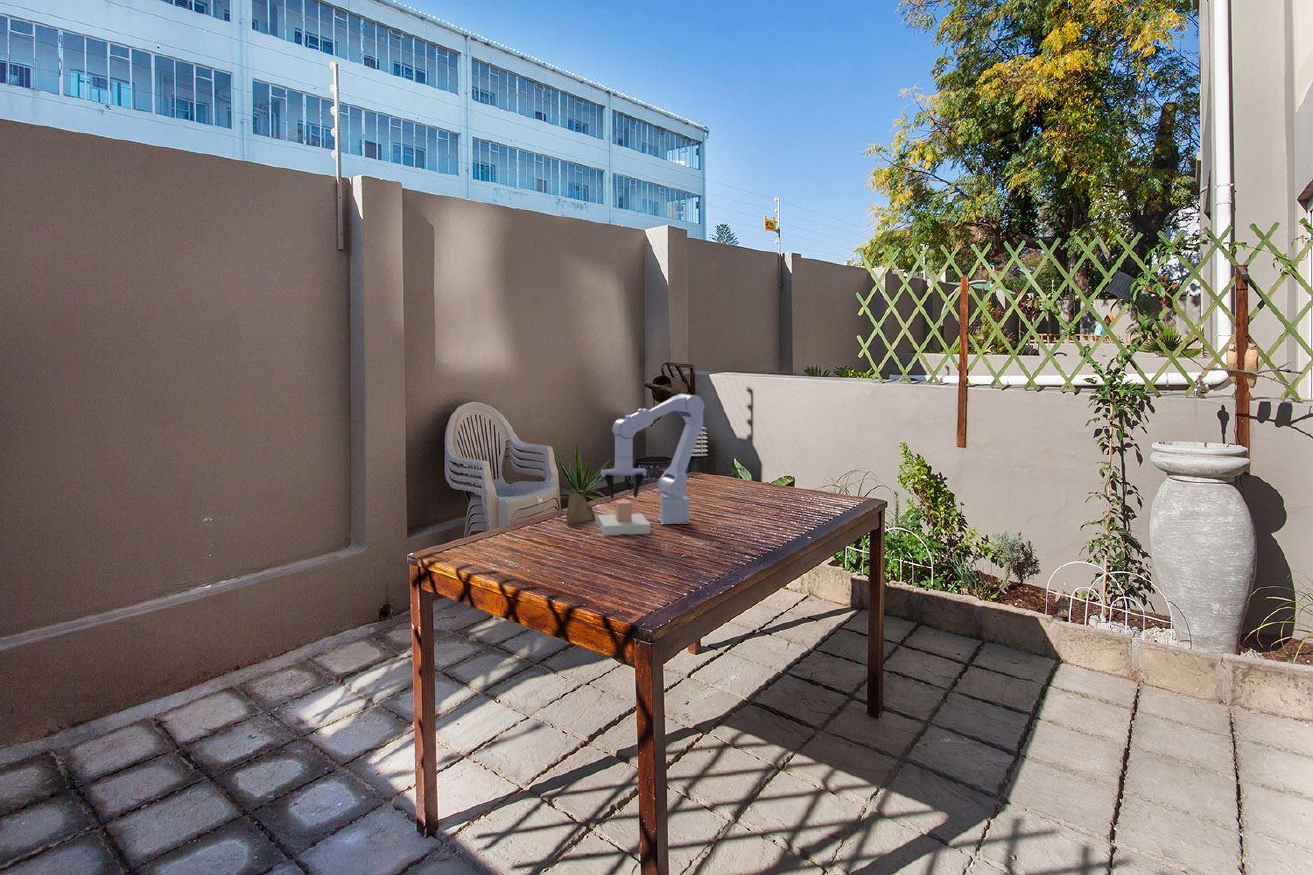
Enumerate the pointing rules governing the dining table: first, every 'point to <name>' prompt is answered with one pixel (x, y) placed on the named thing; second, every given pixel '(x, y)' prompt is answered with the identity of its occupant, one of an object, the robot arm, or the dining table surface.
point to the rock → (578, 509)
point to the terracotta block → (623, 510)
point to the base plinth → (623, 525)
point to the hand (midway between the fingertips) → (623, 497)
